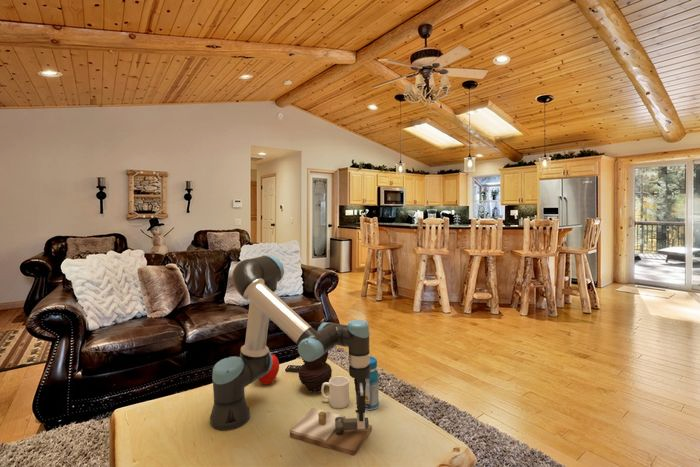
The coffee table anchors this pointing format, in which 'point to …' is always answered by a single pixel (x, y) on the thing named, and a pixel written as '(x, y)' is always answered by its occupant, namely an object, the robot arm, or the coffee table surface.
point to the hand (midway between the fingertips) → (361, 428)
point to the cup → (337, 391)
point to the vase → (315, 369)
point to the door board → (327, 432)
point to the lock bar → (347, 424)
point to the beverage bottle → (372, 386)
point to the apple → (271, 372)
